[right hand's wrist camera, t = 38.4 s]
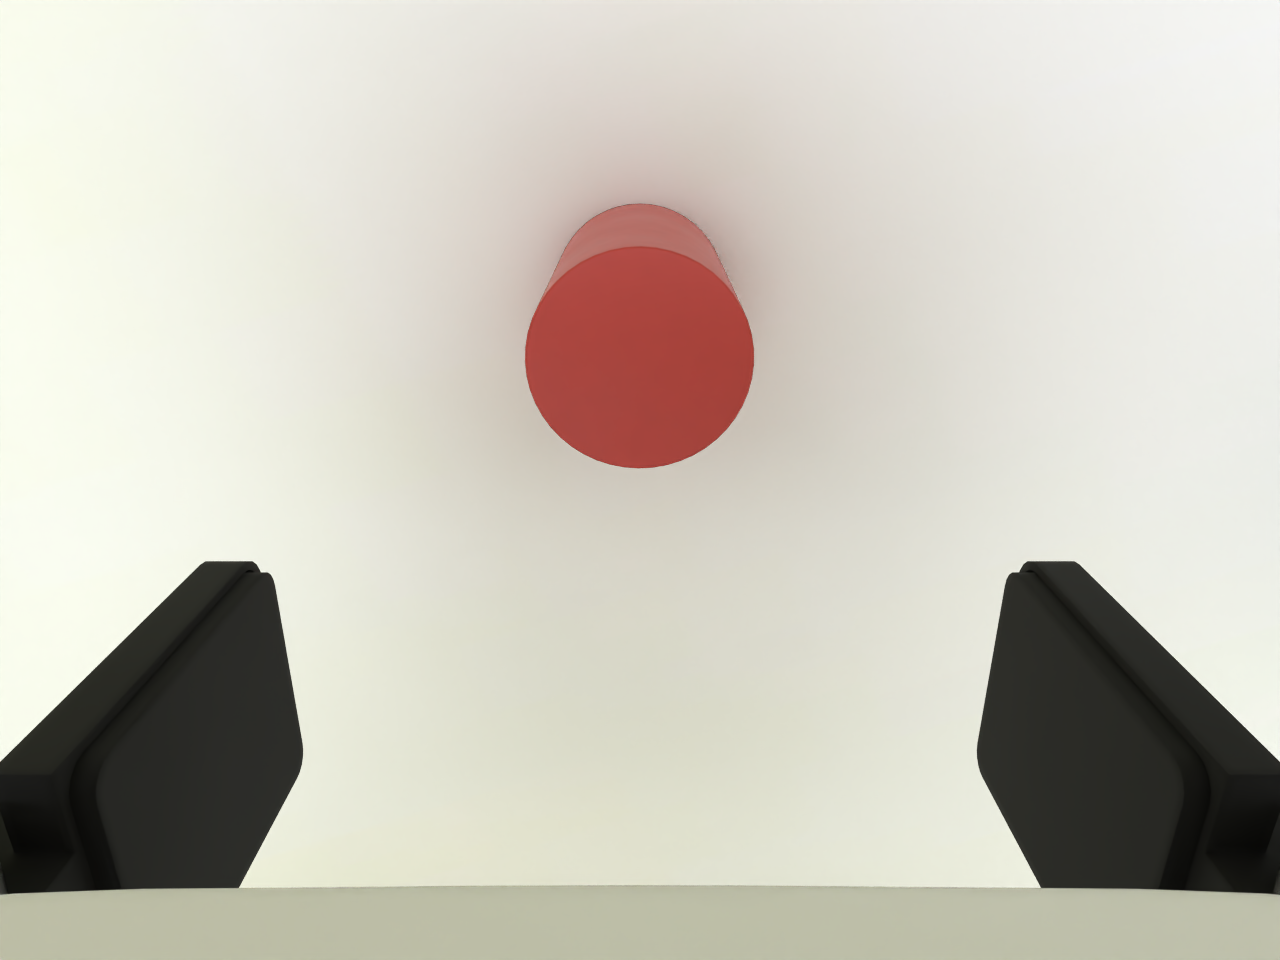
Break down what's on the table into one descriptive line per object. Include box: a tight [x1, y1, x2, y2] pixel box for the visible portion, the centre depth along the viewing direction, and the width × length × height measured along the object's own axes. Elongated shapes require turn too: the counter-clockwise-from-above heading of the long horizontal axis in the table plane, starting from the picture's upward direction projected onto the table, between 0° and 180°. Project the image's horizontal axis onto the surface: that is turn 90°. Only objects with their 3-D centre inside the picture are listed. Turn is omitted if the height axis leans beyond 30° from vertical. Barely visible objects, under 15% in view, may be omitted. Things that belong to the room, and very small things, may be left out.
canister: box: [525, 204, 754, 468], centre depth 25 cm, size 5×5×8 cm
